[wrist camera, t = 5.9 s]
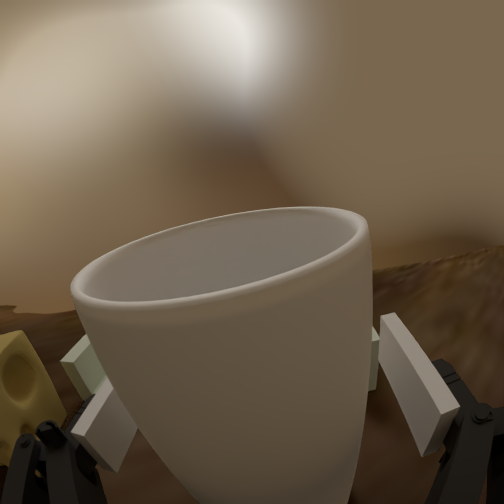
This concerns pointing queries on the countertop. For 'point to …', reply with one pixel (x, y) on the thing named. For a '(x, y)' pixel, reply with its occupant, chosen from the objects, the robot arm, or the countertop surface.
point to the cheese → (23, 393)
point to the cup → (242, 349)
